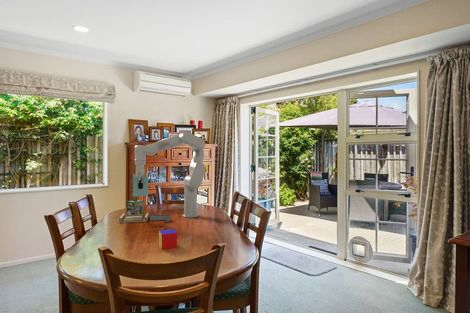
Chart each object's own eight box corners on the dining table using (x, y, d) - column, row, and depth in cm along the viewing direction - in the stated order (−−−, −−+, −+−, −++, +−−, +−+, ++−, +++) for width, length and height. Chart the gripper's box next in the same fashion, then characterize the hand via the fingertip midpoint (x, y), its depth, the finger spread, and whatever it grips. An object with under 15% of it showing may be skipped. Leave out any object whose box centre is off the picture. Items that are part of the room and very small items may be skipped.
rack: (123, 219, 229) (123, 213, 229) (148, 218, 232) (148, 212, 232) (119, 224, 213) (119, 218, 213) (146, 223, 217) (146, 217, 217)
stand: (150, 220, 227) (150, 214, 227) (170, 219, 229) (170, 214, 229) (149, 222, 219) (149, 217, 219) (170, 222, 222) (170, 216, 222)
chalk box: (143, 215, 244) (144, 196, 243) (134, 217, 236) (134, 197, 236) (135, 214, 249) (136, 195, 248) (126, 216, 241) (126, 196, 241)
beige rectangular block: (125, 220, 220) (125, 216, 220) (142, 220, 222) (142, 215, 222) (123, 222, 214) (123, 217, 214) (142, 221, 217) (142, 217, 217)
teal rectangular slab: (133, 195, 223) (133, 174, 223) (148, 195, 225) (147, 174, 224) (133, 196, 221) (132, 175, 221) (147, 195, 223) (147, 174, 223)
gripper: (136, 162, 230) (136, 187, 230) (133, 163, 214) (133, 190, 215) (147, 162, 231) (147, 187, 231) (144, 163, 215) (145, 189, 216)
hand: (140, 188), depth 223 cm, fingers closed on teal rectangular slab, 2 cm apart
